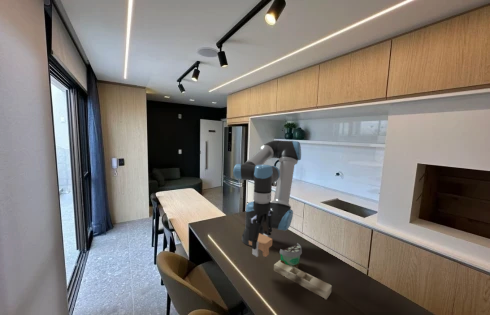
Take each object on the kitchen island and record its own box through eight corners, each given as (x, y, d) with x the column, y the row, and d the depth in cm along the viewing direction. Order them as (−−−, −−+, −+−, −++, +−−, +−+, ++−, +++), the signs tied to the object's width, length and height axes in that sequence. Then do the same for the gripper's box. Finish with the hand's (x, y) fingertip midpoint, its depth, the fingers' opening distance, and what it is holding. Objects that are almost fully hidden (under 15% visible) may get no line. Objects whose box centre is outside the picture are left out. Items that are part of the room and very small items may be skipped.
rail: (273, 270, 93) (274, 264, 92) (279, 265, 96) (279, 259, 96) (326, 299, 77) (327, 292, 76) (331, 292, 80) (331, 285, 80)
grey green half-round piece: (287, 277, 89) (289, 255, 88) (278, 269, 94) (279, 249, 93) (306, 268, 96) (307, 248, 95) (296, 261, 101) (297, 242, 100)
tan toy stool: (248, 251, 89) (248, 237, 88) (257, 245, 94) (258, 232, 93) (263, 259, 84) (263, 244, 83) (271, 252, 88) (272, 238, 88)
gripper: (254, 209, 76) (252, 265, 79) (281, 198, 91) (279, 246, 93) (240, 204, 81) (238, 257, 84) (268, 194, 96) (266, 240, 98)
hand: (260, 251), depth 89 cm, fingers closed on tan toy stool, 7 cm apart
